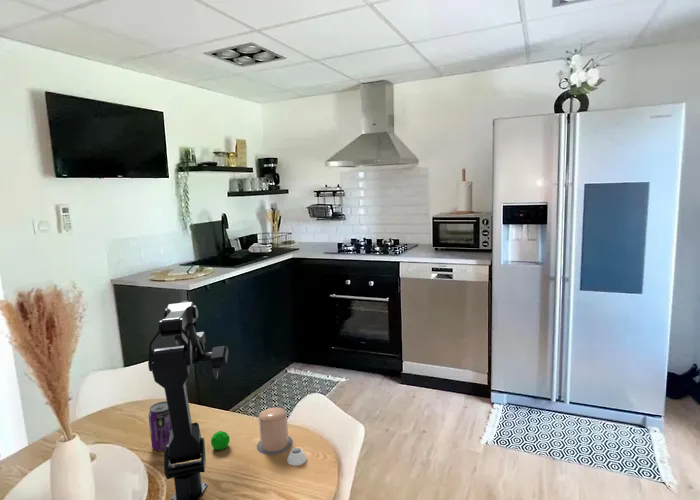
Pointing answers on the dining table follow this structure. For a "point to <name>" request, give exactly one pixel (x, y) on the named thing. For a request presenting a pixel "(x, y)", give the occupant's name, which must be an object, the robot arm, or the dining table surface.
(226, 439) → the polyhedron
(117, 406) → the dining table surface
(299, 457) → the white tapered ring
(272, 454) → the rubber mat
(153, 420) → the beverage can
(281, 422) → the cover cup
